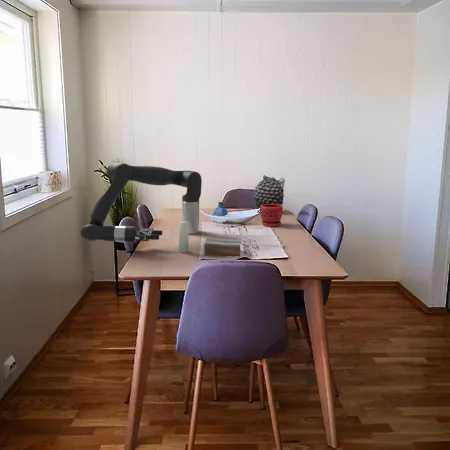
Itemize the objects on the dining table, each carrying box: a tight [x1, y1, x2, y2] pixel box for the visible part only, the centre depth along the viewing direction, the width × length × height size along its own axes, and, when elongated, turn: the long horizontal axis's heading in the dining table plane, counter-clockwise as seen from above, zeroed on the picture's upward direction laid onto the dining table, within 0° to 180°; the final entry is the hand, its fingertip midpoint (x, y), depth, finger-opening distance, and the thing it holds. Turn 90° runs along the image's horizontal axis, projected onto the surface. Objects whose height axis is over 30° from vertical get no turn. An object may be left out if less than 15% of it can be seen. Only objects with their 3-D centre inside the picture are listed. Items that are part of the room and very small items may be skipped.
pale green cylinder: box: [178, 220, 190, 254], centre depth 217 cm, size 4×4×14 cm
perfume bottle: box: [212, 201, 229, 224], centre depth 284 cm, size 6×6×12 cm
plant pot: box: [259, 204, 284, 227], centre depth 279 cm, size 13×13×12 cm
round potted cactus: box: [253, 174, 286, 213], centre depth 317 cm, size 21×15×25 cm
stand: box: [203, 237, 241, 257], centre depth 217 cm, size 12×16×6 cm
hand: (160, 235), depth 217 cm, fingers open, 8 cm apart
